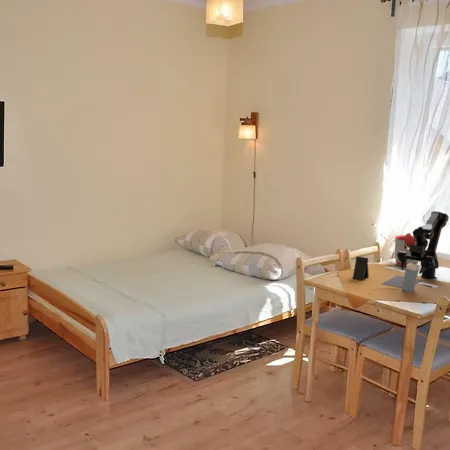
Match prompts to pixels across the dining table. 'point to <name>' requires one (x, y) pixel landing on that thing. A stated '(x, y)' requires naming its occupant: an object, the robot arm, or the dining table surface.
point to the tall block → (410, 277)
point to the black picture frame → (361, 269)
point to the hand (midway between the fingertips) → (410, 272)
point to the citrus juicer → (404, 247)
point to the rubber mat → (397, 281)
